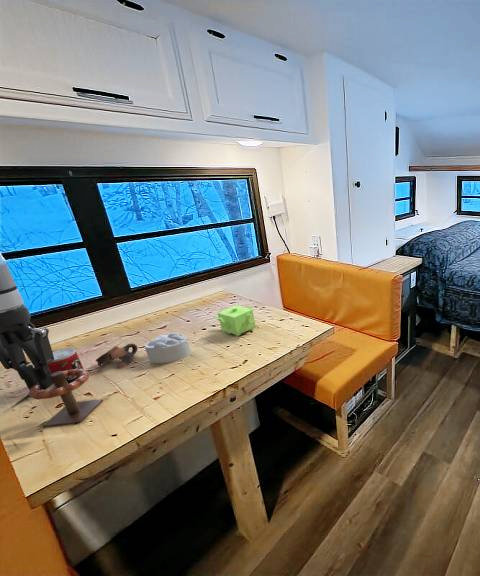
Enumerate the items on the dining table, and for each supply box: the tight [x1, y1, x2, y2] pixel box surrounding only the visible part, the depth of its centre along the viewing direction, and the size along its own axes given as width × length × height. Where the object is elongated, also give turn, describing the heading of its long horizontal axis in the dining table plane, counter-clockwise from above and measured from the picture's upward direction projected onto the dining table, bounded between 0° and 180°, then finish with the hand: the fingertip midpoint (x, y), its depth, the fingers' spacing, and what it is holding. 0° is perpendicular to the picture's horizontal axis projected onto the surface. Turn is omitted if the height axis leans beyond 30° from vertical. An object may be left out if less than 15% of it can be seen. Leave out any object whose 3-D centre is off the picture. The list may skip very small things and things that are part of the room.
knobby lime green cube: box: [214, 305, 256, 337], centre depth 132 cm, size 15×14×11 cm
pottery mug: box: [95, 343, 138, 369], centre depth 111 cm, size 12×10×8 cm
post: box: [42, 371, 104, 428], centre depth 85 cm, size 9×9×14 cm
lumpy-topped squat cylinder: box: [144, 331, 192, 364], centre depth 114 cm, size 10×13×9 cm
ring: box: [27, 368, 90, 400], centre depth 84 cm, size 12×12×2 cm
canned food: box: [47, 347, 85, 387], centre depth 100 cm, size 8×8×11 cm
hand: (42, 387), depth 83 cm, fingers closed on ring, 2 cm apart
